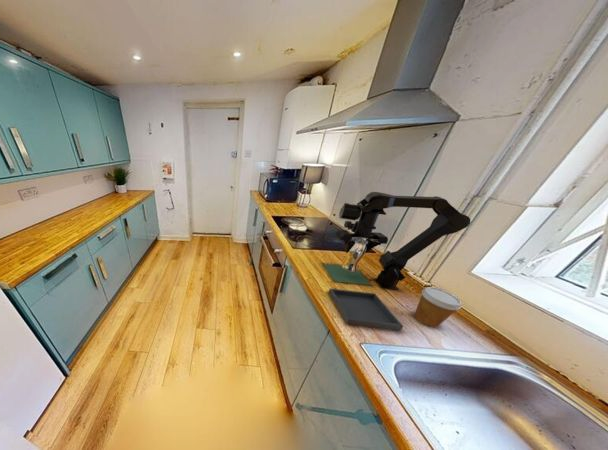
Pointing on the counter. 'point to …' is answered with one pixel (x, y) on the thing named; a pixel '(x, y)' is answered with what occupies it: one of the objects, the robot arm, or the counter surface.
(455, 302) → the disposable coffee cup
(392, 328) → the dark grey tray
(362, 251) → the beer glass
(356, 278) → the drying mat
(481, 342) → the counter surface
